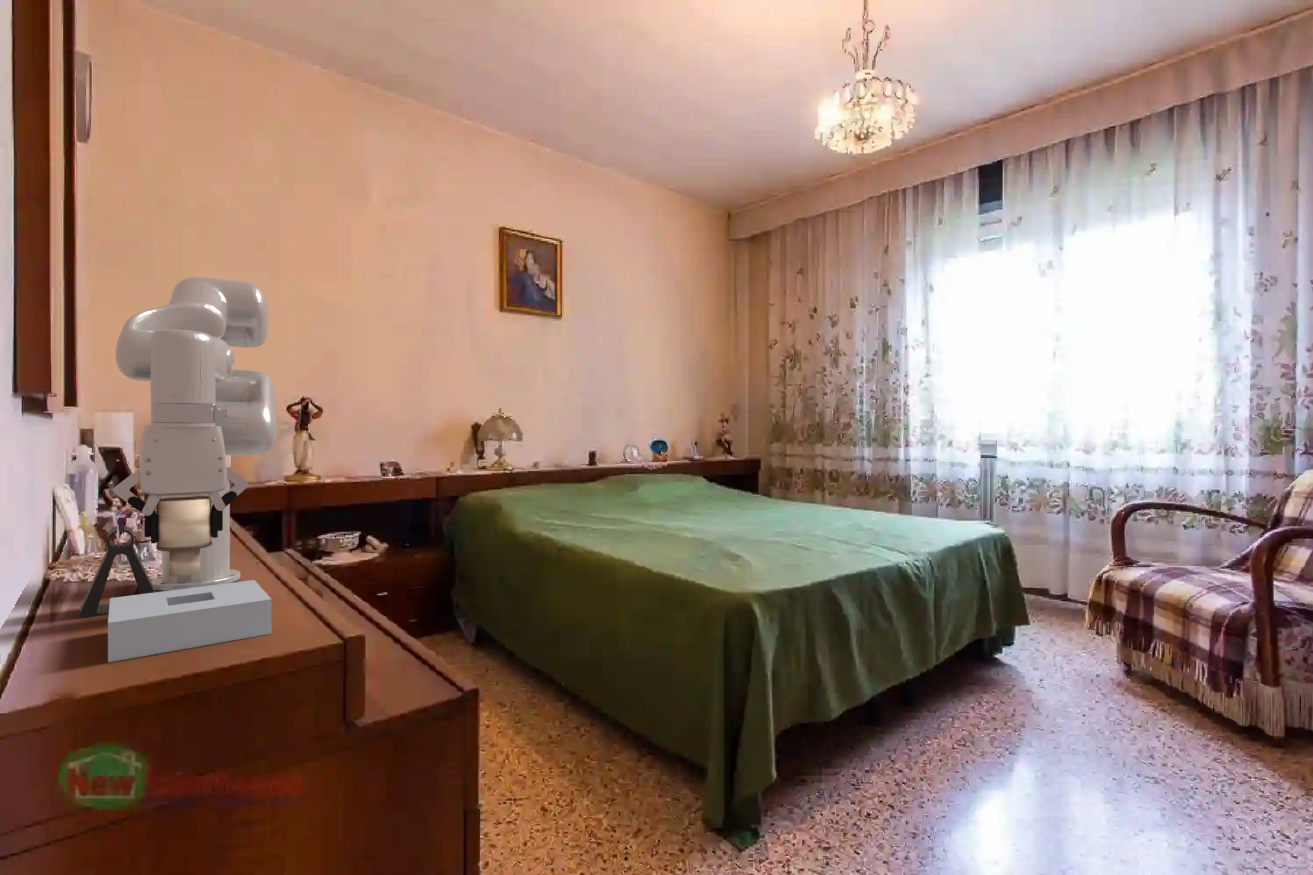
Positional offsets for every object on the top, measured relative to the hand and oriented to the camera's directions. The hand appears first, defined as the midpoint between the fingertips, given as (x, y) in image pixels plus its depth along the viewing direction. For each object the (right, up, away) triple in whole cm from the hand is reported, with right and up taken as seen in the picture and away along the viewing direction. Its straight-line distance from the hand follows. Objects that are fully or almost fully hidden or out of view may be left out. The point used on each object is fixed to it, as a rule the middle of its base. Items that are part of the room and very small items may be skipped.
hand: (184, 537), depth 91 cm
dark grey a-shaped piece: (-11, -11, +2) cm, 15 cm away
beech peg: (0, -5, 0) cm, 5 cm away
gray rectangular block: (+8, -11, -10) cm, 17 cm away
